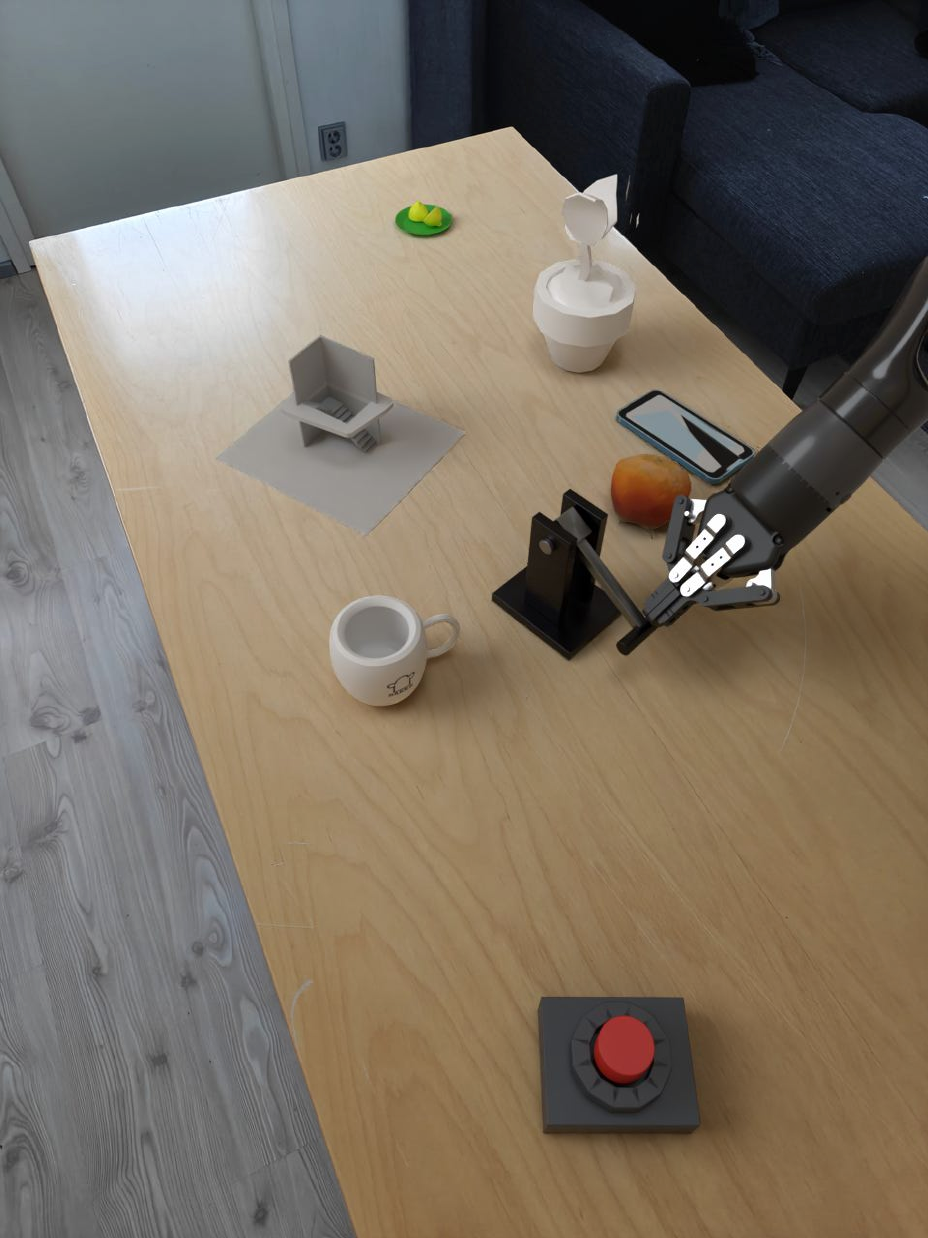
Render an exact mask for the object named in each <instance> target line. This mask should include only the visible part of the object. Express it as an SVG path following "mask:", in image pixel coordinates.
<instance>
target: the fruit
mask: <svg viewBox="0 0 928 1238" xmlns="http://www.w3.org/2000/svg"><path fill="white" fill-rule="evenodd" d="M612 472H613V473H612V476H611V481H610V498H611V502H612V507H613V511H614V514H615V516H616V517H617V521H618V522H617V523H618V524H621V523H632V524H635V525H638V526H640V527H642V528H644V529H645V530H646V531H647V532H649V533H650V536H651V537H650V538H651V539H652V540H654V530H656V529H657V528H661V527H663V526H664V525H665V524H666V523H667V522H670V518H671V514H672V509H673V505H674V500H675V498H676V497H677V496H678V495H685V496H687V497H688V498H690V497H689V496H690V495H691V492H692V481H691V477H690V474H689V473H688V471H686V470H685V469H683V468H682V467H681V466H680V465H679V464H677V463H676V462H674V461H672V460H670V458H667V457H666V456H662V455H657V454H648V453H641V454H636V455H633V456H627V457H624V458H622V459H620V460H618V461H617V462H616V464H615V467H614V469H613V471H612Z"/></svg>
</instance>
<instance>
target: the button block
mask: <svg viewBox="0 0 928 1238" xmlns="http://www.w3.org/2000/svg"><path fill="white" fill-rule="evenodd" d="M617 1016H631V1017H634V1018H636V1019H638V1020H639V1021H641V1022H642V1023H643V1024H644V1025H645V1026H646V1027H647V1028H648V1029H649V1031H650V1033H651V1034H652V1037H653V1040H654V1045H655V1054H654V1058H653V1061H652V1063H651V1064H650V1066H649V1067H648V1069H647V1070H646V1071H645V1073H644V1074H643V1075H642V1076H641V1077H640V1078H639V1079H638V1080H636V1081H634V1082H632V1083H627V1084H621V1083H616V1082H614V1081H612V1080H610V1079H608V1078H607V1077H606V1076H605V1075H603V1073H602V1072H601V1071H600V1069H599V1068H598V1066H597V1064H596V1061H595V1057H594V1045H595V1042H596V1039H597V1037H598V1035H599V1033H600V1031H601V1029H602V1027H603V1026H604V1025H605V1023H606V1022H607V1021H609V1020H610V1019H612V1018H614V1017H617ZM537 1019H538V1020H537V1021H538V1045H539V1047H538V1048H539V1069H540V1090H541V1091H540V1093H541V1112H542V1113H541V1115H542V1133H543V1134H615V1135H617V1134H618V1135H619V1134H620V1135H621V1134H625V1135H626V1134H627V1135H628V1134H630V1135H631V1134H633V1135H635V1134H639V1135H645V1134H646V1135H647V1134H649V1135H653V1134H655V1135H658V1134H659V1135H670V1134H671V1135H676V1134H677V1135H688V1134H689V1135H690V1134H692V1133H694V1132H695V1131H696V1130H697V1129H698V1128H700V1127H701V1126H702V1125H701V1124H702V1123H701V1116H700V1109H699V1102H698V1095H697V1087H696V1081H695V1072H694V1065H693V1064H694V1063H693V1058H692V1057H693V1056H692V1050H691V1049H692V1048H691V1043H690V1042H691V1041H690V1035H689V1028H688V1020H687V1014H686V1005H685V999H684V997H674V996H673V997H672V996H671V997H663V996H661V997H660V996H658V997H657V996H656V997H655V996H654V997H653V996H646V997H645V996H619V997H618V996H541V997H540V1001H539V1004H538V1008H537Z"/></svg>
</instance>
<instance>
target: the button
mask: <svg viewBox="0 0 928 1238" xmlns="http://www.w3.org/2000/svg"><path fill="white" fill-rule="evenodd" d="M654 1054H655V1045H654V1040H653V1037H652V1034H651V1033H650V1031H649V1029H648V1028H647V1027H646V1026H645V1025H644V1024H643V1023H642V1022H641V1021H639V1020H638V1019H636V1018H634V1017H631V1016H617V1017H614V1018H612V1019H610V1020H609V1021H607V1022H606V1023H605V1025H604V1026H603V1027H602V1029H601V1031H600V1033H599V1035H598V1037H597V1039H596V1042H595V1045H594V1057H595V1061H596V1064H597V1066H598V1068H599V1069H600V1071H601V1072H602V1073H603V1075H605V1076H606V1077H607V1078H608V1079H610V1080H612V1081H614V1082H616V1083H621V1084H627V1083H632V1082H634V1081H636V1080H638V1079H639V1078H640V1077H641V1076H642V1075H643V1074H644V1073H645V1071H646V1070H647V1069H648V1067H649V1066H650V1064H651V1063H652V1061H653V1058H654Z"/></svg>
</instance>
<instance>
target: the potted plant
mask: <svg viewBox="0 0 928 1238" xmlns="http://www.w3.org/2000/svg"><path fill="white" fill-rule="evenodd" d="M630 178H631V176H629V178H628V180H631V179H630ZM630 184H631V182H630V181H628V183H627V188H626V192H625V195H626V196H625V200H627V199H628V192H629V187H630ZM617 189H618V174H617V173H616V174H613V175H610V176H607V177H604V178H600V179H597V180H596V181H595V182H593V183H591V185H589V186H588V187H586V188H585V189H584V190H583V192H580V191H579V192H576V193H574V194H571V195H569V196H566V197H565V198H564V201H563V203H562V206H561V207H562V208H561V211H560V212H561V215H562V217H563V220H564V223H565V226H564V229H565V232H566V234H567V235H568V238H569V239H570V241H572V242H576V243H578V258H577V259H570V260H569V259H568V260H563V261H556V262H555V263H553V264H552V265H550V266H547V268H545V269H543V270H542V271H540V272H539V275H538V277H537V279H536V283H535V286H534V293H533V304H532V318H533V320H534V323H535V324H536V326H537V328H538V330H539V331H540V333H542V334H543V337H544V340H545V343H546V348H547V350H548V354H549V357H550V359H551V361H552V363H553V364H554V365H555V366H557V367H558V368H560V369H562V370H563V371H567V372H573V373H579V374H580V373H586V372H592V371H595V370H596V369H597V368H598V367H600V366H602V365H603V363H604V361H605V360H606V358H607V357H608V354H609V353H610V351H611V350H612V347H613V346H614V345H615V342H616V341H617V340H618V339H619V338H621V337H623V336H624V335H625V334H627V333H628V331H629V328H630V325H631V324H630V323H631V320H632V316H633V310H634V304H635V298H636V295H637V286H636V285H635V284H636V283H634V281H633V280H632V278H631V277H630V275H629V273H628V272H626V271H624V270H623V269H620V268H618V267H617V266H614V265H613V264H611V263H609V262H608V261H607V262H606V261H600V260H593V259H592V249H591V247H593V248H595V247H596V246H597V245H598V244H599V243H600V242H601V241H602V240H603V239H604V238H605V237H606V236H607V235H608V233H609V232H610V231H611V230H612V228H613V227H614V226H615V225H616V224H617V222H618V202H617V191H618V190H617ZM639 216H640V214H638V215H637V217H636V225H639ZM632 218H633V215H632V214H631V215H630V220H629V224H631V223H632V222H631V221H632ZM637 227H638V226H636V228H637ZM636 228H635V229H636Z"/></svg>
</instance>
